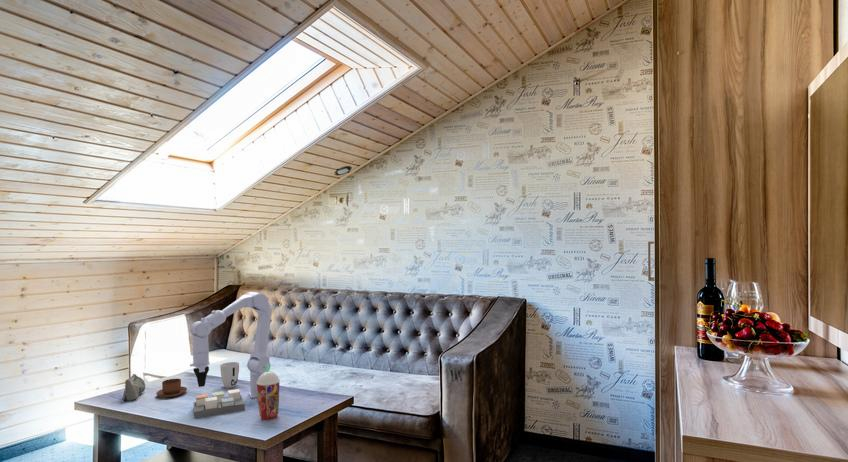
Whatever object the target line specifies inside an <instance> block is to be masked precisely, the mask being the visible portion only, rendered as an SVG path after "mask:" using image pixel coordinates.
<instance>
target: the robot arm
mask: <svg viewBox="0 0 848 462" xmlns="http://www.w3.org/2000/svg"><path fill="white" fill-rule="evenodd" d="M269 300H270V298H269V297H268V296H267V295H266V294H265V293H263V292H255V291H248V292H246V293H245V294H243V295H241V296H240V297H239V298H237V299H236V300H235V301H233V302H232V303H231V304H229V305H228V306H226V307H225V308H223V309H222V310H220V309H217V310H214V309H213V310H212V311H211V313H210V314H208V315H207V316H205V317H202V318H200V320H198V321H195V322H193V323H192V325H191V326H190V328H189V332H190V334H191V335H192V363H189V367H194V368H193V373H194V374H195V376H196V381H197V386H198V387H199V388H201V387H205V385H206V380H207V375H208V373H209V370H210V367H209V365H210V357H209V356H210V352H209V351H210V350H209V349H210V347H209V335H210V334H211V332H212V331H213V330H214V329H216V328H217V327H219V326H220V325H222V324H223V323H225V322H226V320H227V317H229V316H231V315H233V314H234V313H236V312H238V311H240V310H242V309H243V308H251V309H252V310H254V312H256V313H257V321H256V328H255V329H256V330H255V337H254V345H253V351H252V352H251V354H250V355H249V359H248V361H247V364H246V368H247V369H248V370H249V372H250V373H249V378H250V379H249V380H250V383H249V384H250V386H249V387H250V391H249V392H248V395H249V397H250V399H255V398H258V392H257V381H258V379H259V377H260V375H261V374H263V373H264V372H267V364H269V371H270V370H271V363H270V362H271V361H270V355H269V353H268V345H269V336H270V327H271V319H272V306H271V305H270V302H269Z"/></svg>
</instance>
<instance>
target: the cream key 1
mask: <svg viewBox="0 0 848 462" xmlns="http://www.w3.org/2000/svg"><path fill="white" fill-rule="evenodd" d="M212 408H217V397H212V396H211V397H208V398H205V410H206V409H212Z"/></svg>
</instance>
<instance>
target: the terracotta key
mask: <svg viewBox="0 0 848 462" xmlns="http://www.w3.org/2000/svg"><path fill="white" fill-rule="evenodd" d="M205 398H209V395H208V393H203V394H196V395H195V402H196V406H202V405H205Z"/></svg>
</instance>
